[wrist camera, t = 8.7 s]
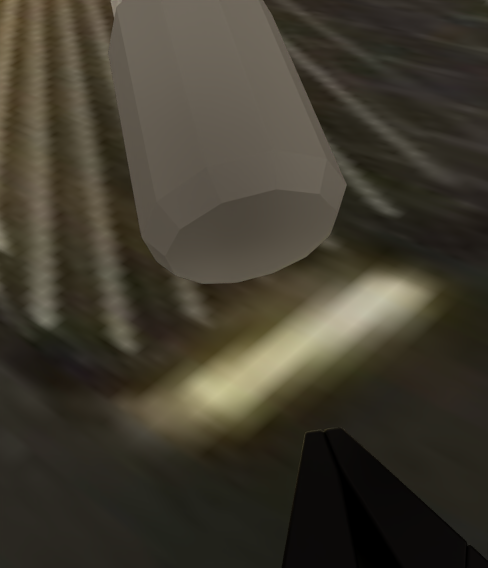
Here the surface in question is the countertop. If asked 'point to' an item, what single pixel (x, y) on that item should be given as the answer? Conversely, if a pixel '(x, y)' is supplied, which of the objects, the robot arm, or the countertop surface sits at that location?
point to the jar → (220, 139)
